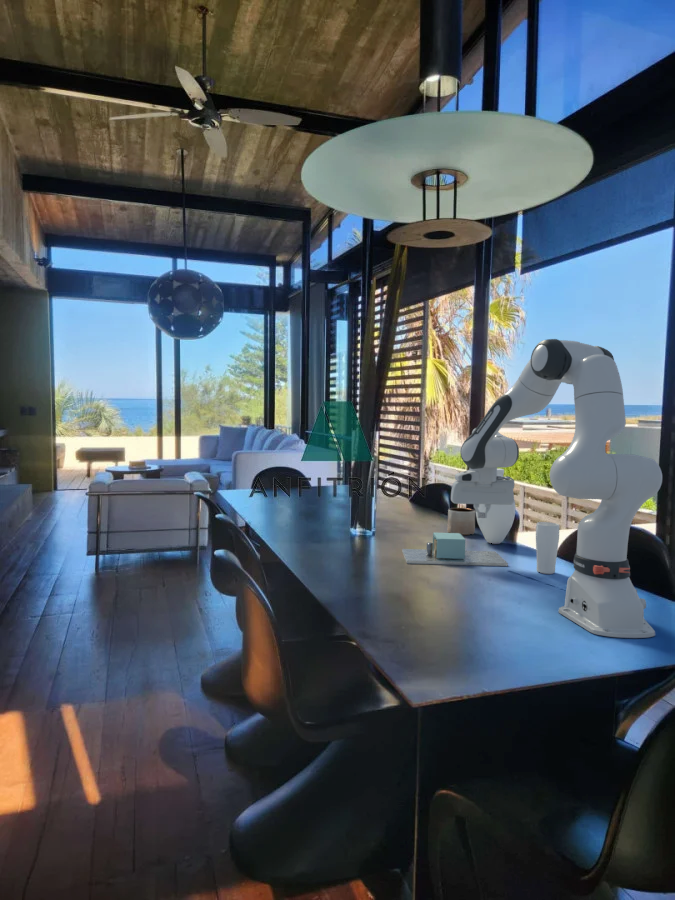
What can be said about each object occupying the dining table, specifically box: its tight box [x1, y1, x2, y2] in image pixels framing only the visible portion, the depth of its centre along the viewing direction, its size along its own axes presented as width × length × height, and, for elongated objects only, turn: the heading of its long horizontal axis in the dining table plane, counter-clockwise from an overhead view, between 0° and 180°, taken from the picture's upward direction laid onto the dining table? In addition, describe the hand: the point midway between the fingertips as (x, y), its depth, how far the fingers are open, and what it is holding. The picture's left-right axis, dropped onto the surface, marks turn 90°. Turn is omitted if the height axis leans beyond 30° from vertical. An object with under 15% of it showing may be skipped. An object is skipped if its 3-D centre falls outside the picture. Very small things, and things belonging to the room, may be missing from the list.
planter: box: [446, 507, 476, 536], centre depth 238 cm, size 11×11×10 cm
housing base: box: [401, 542, 509, 567], centre depth 194 cm, size 16×32×5 cm, turn 89°
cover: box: [432, 532, 467, 559], centre depth 194 cm, size 10×9×6 cm
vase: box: [475, 468, 516, 545], centre depth 219 cm, size 14×14×28 cm
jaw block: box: [434, 539, 437, 557], centre depth 194 cm, size 4×4×5 cm
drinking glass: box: [535, 521, 560, 575], centre depth 179 cm, size 7×7×15 cm
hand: (481, 517), depth 193 cm, fingers closed
